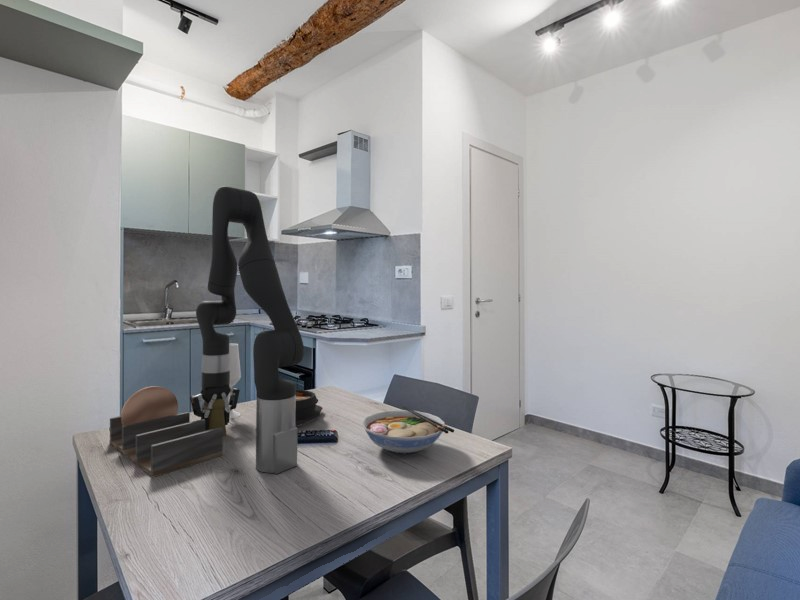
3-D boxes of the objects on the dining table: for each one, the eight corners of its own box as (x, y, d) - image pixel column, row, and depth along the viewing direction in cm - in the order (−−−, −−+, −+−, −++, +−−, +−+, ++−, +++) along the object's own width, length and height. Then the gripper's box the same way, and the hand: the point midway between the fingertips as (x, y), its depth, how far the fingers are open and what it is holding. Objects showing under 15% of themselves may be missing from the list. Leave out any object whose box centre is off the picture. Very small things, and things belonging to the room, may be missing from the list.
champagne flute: (240, 411, 142) (241, 342, 141) (240, 417, 135) (241, 345, 135) (219, 413, 139) (219, 343, 138) (218, 419, 133) (219, 346, 132)
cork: (220, 439, 116) (221, 400, 116) (199, 438, 116) (200, 400, 116) (230, 431, 122) (230, 395, 122) (210, 431, 122) (210, 394, 122)
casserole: (289, 406, 149) (290, 383, 148) (335, 413, 143) (335, 389, 142) (242, 428, 125) (242, 401, 125) (294, 437, 119) (294, 408, 119)
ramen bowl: (347, 439, 118) (348, 411, 118) (416, 428, 128) (417, 402, 128) (384, 475, 96) (385, 441, 96) (464, 459, 106) (464, 428, 106)
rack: (223, 454, 105) (223, 397, 105) (153, 477, 93) (153, 411, 92) (173, 427, 124) (173, 379, 124) (109, 443, 111) (109, 388, 111)
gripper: (196, 375, 111) (196, 437, 111) (245, 367, 122) (245, 424, 122) (184, 371, 115) (184, 430, 116) (232, 364, 126) (232, 418, 127)
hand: (215, 426), depth 119 cm, fingers open, 5 cm apart
